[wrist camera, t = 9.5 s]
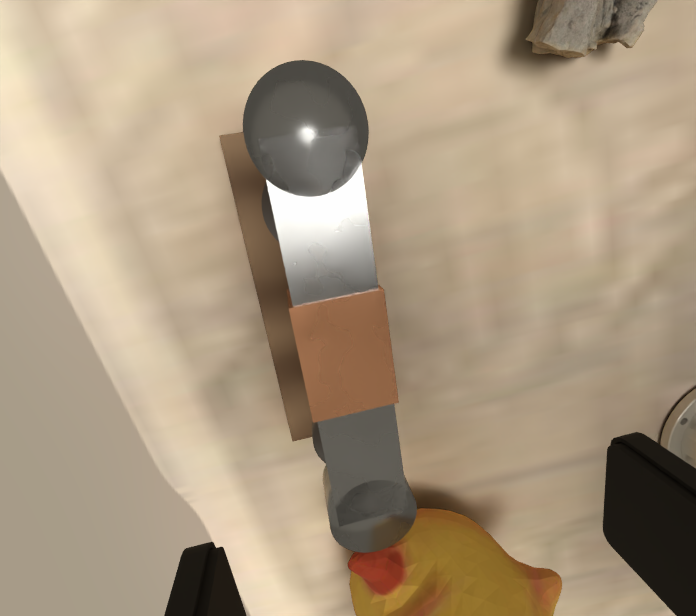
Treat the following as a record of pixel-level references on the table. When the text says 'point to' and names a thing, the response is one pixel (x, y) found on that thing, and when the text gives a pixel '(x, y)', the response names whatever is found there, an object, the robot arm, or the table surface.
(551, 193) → the table surface
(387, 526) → the two-ball handle bar
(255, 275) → the rack
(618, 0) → the rock
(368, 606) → the toy
